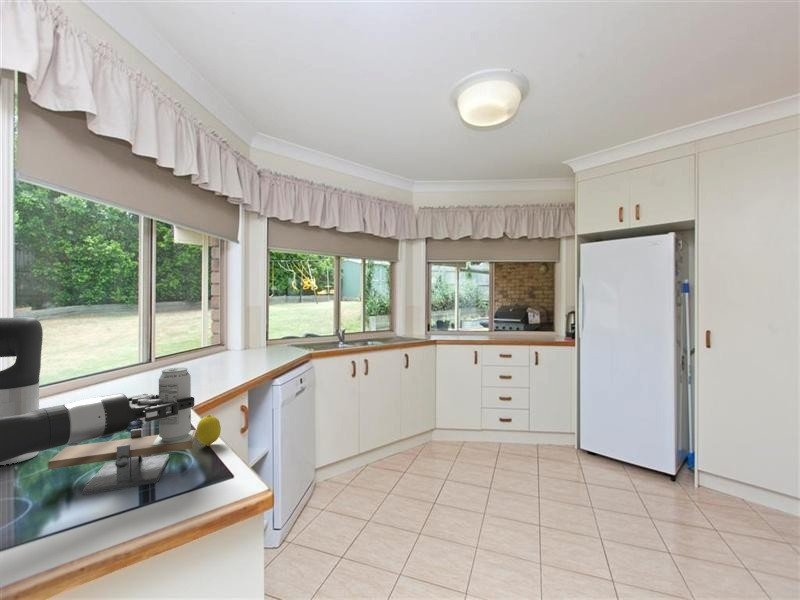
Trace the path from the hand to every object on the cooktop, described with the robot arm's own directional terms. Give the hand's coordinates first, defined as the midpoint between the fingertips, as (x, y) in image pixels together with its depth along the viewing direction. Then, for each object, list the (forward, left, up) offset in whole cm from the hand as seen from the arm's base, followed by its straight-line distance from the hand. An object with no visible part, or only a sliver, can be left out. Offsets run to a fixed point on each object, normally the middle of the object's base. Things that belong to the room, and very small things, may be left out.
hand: (183, 398), depth 83 cm
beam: (+1, -10, -10) cm, 14 cm away
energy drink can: (+1, -1, -8) cm, 8 cm away
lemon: (-10, +4, -15) cm, 18 cm away
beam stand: (+1, -10, -15) cm, 18 cm away
